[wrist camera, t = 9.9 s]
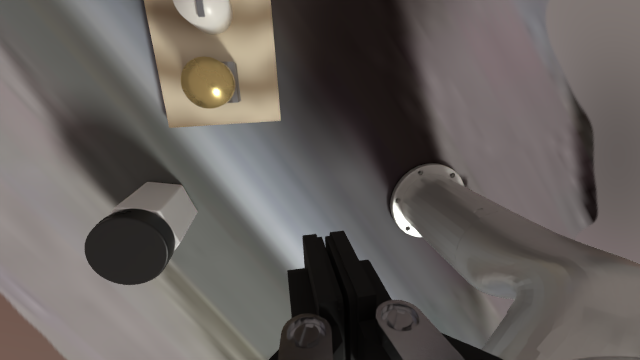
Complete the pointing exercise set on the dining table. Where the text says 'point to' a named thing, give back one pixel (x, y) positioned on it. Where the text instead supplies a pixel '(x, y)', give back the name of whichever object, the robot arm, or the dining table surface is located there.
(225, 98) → the knob
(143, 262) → the jar
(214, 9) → the dial
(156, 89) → the dining table surface
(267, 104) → the mount board
